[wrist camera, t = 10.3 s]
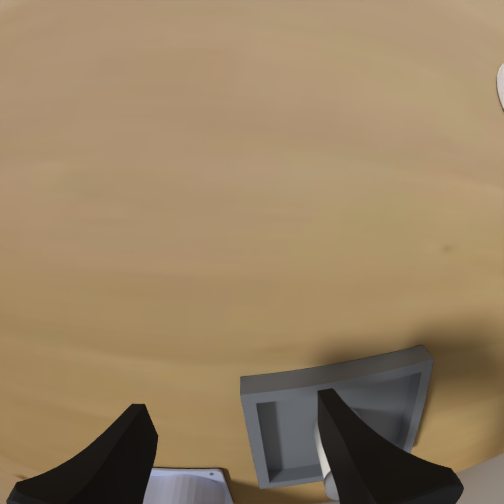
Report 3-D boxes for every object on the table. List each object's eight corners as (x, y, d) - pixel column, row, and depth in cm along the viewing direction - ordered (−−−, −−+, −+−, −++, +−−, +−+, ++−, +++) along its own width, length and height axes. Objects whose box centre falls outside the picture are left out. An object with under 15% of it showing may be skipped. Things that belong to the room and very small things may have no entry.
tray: (258, 472, 27) (259, 489, 25) (240, 376, 23) (240, 394, 21) (401, 445, 27) (408, 459, 24) (422, 344, 23) (434, 358, 21)
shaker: (312, 446, 25) (325, 506, 18) (309, 412, 24) (325, 475, 17) (361, 435, 25) (383, 491, 18) (363, 400, 24) (390, 458, 17)
